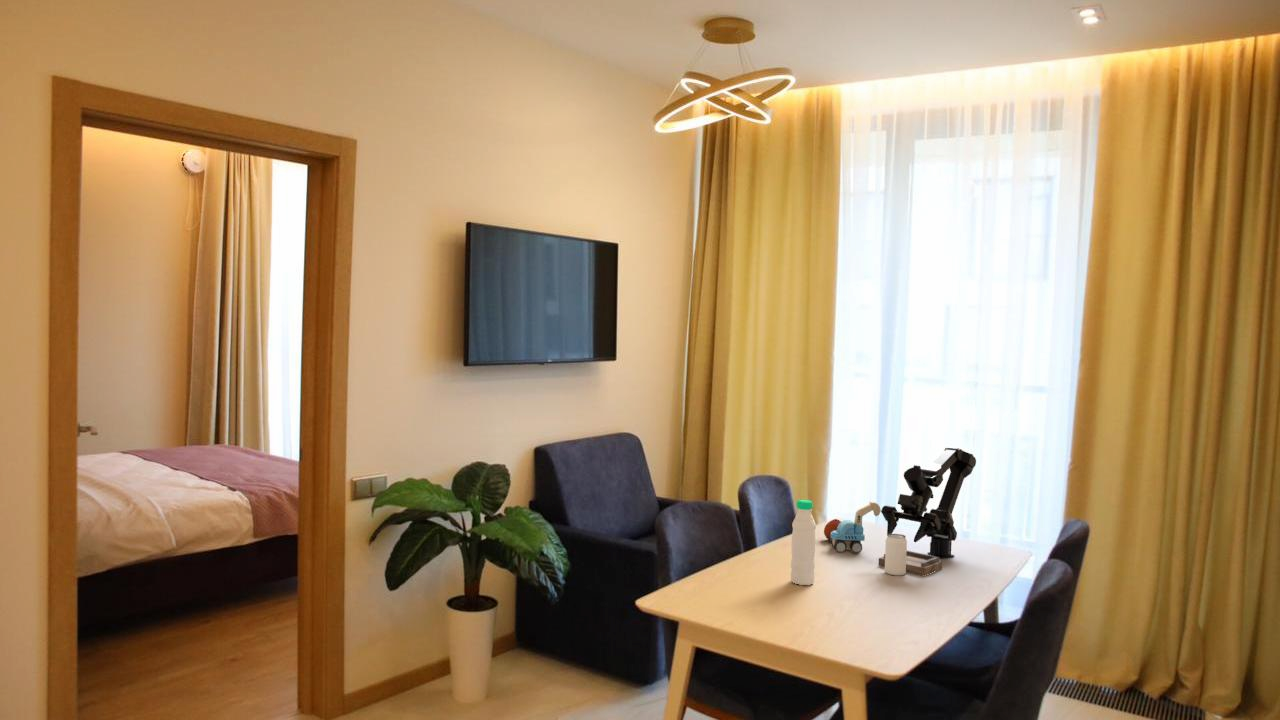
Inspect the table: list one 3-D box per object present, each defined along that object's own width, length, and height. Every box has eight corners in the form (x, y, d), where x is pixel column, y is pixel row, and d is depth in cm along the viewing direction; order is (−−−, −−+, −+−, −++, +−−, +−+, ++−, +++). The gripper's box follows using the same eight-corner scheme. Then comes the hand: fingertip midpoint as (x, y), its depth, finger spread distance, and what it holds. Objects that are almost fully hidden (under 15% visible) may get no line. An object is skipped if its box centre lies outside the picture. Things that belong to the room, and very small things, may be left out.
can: (902, 577, 284) (903, 539, 283) (881, 573, 287) (883, 536, 287) (908, 572, 289) (909, 535, 289) (888, 569, 293) (889, 532, 292)
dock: (896, 559, 305) (896, 548, 305) (941, 569, 294) (942, 557, 294) (878, 565, 297) (878, 554, 297) (924, 576, 286) (924, 564, 286)
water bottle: (818, 583, 275) (821, 501, 274) (805, 587, 270) (808, 504, 269) (798, 578, 280) (801, 497, 279) (785, 582, 275) (788, 500, 274)
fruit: (843, 545, 323) (844, 523, 322) (820, 541, 328) (820, 519, 327) (852, 540, 330) (853, 519, 330) (829, 537, 335) (830, 515, 335)
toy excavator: (881, 554, 312) (883, 504, 311) (832, 553, 312) (834, 503, 311) (875, 548, 320) (877, 499, 320) (828, 546, 321) (829, 498, 320)
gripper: (884, 480, 300) (866, 518, 292) (938, 489, 287) (920, 528, 279) (895, 501, 306) (877, 539, 298) (948, 510, 293) (931, 550, 285)
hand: (901, 538), depth 290 cm, fingers open, 9 cm apart
